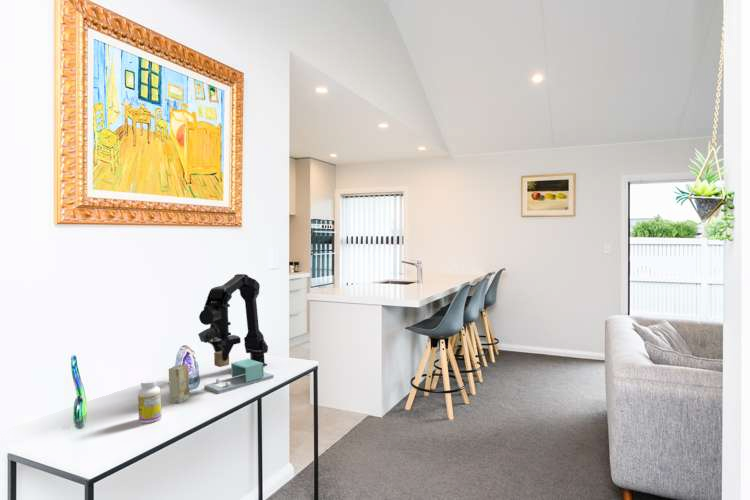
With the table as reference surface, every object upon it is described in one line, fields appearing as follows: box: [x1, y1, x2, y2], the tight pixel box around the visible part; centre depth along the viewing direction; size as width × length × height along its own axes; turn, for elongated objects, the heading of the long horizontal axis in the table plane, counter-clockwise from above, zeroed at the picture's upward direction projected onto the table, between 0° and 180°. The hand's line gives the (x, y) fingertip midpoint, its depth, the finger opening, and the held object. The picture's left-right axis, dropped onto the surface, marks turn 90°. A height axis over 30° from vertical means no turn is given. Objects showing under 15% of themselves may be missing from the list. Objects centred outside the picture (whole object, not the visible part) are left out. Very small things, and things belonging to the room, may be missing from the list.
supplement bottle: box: [137, 378, 163, 424], centre depth 153 cm, size 7×7×13 cm
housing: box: [230, 358, 264, 382], centre depth 193 cm, size 11×8×6 cm
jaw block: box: [213, 351, 230, 368], centre depth 184 cm, size 4×4×5 cm
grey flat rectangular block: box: [204, 371, 275, 394], centre depth 190 cm, size 10×25×3 cm, turn 138°
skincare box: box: [168, 364, 190, 404], centre depth 171 cm, size 6×4×12 cm
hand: (221, 359), depth 184 cm, fingers closed on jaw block, 4 cm apart
